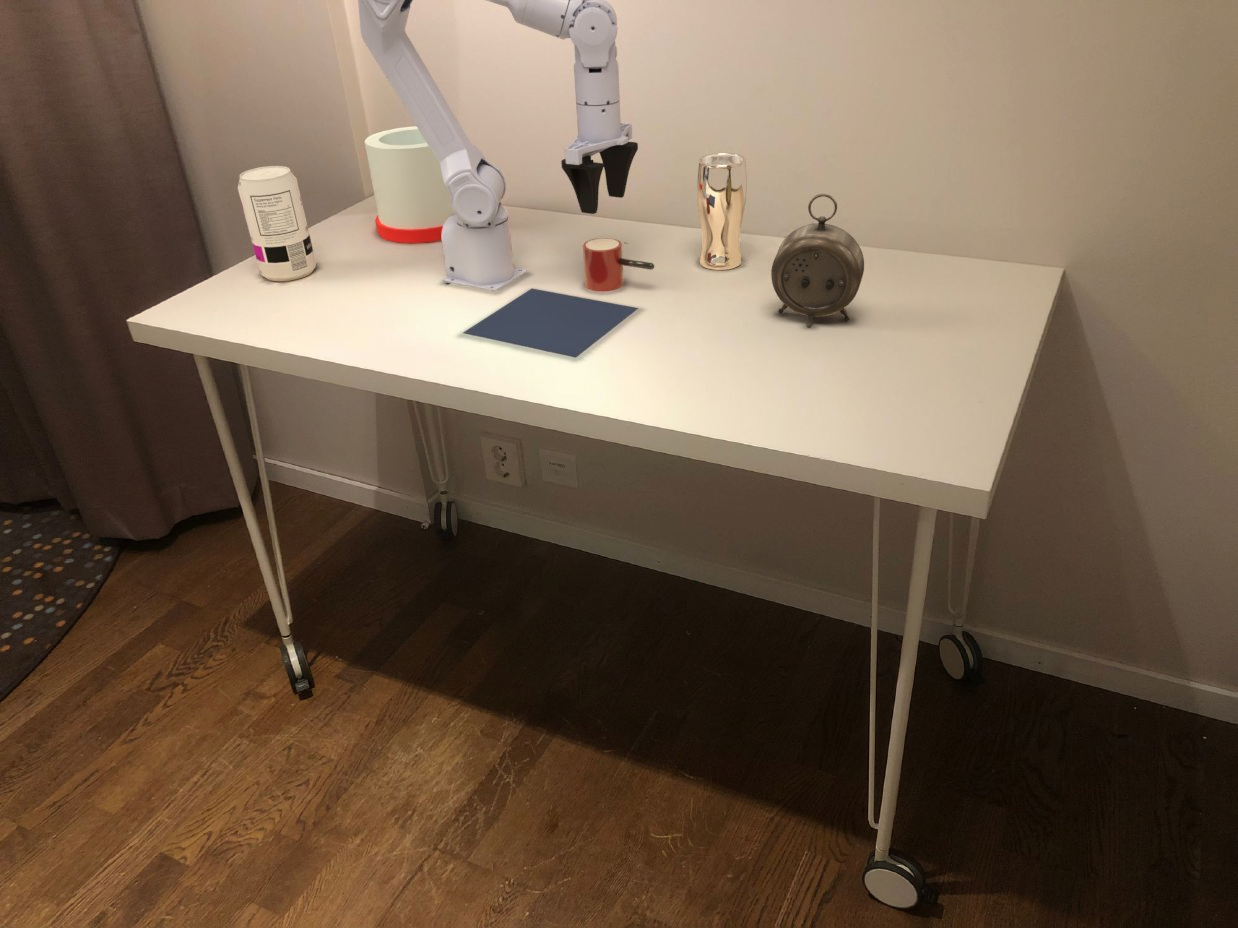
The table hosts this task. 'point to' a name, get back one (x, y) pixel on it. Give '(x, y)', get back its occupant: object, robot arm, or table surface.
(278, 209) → the supplement can
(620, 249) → the pot
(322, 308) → the table surface
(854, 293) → the alarm clock
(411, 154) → the container
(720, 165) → the beer glass
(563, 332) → the cloth
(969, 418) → the table surface
